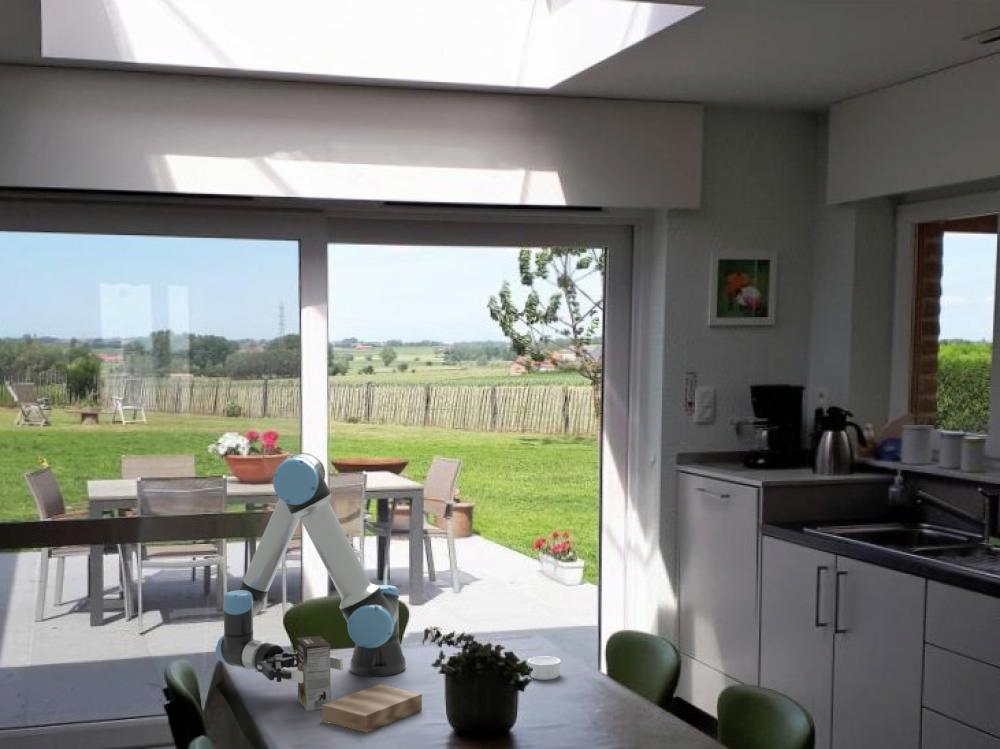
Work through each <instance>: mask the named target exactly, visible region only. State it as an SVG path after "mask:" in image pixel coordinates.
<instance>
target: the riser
mask: <svg viewBox="0 0 1000 749" xmlns="http://www.w3.org/2000/svg"><path fill="white" fill-rule="evenodd" d="M422 696H423V694H422V693H419V692H413V691H410V690H406V689H402V688H396V687H393V686H388V685H384V684H380V683H379V684H377V685H374V686H370V687H368V688H365V689H363V690H359V691H356V692H355V693H351V694H348V695H345V696H344V697H340V698H337V699H335V700H332V701H331V702H329V703H326V704H323V705H322V709H321V710H322V711H321V712H322V722H323V721H326V722H325V723H327V722H330V723H332V724H331V725H334V724H337V725H336V726H338V725H341V726H340V727H342V726H343V728H345V727H348V728H347V729H349V728H351V729H350V730H353V729H355V730H354V731H356V730H358V731H357V732H360V731H363V732H362V733H364V732H366V733H368V732H367V731H369V732H371V731H373V729H374V730H376V729H378V727H379V728H381V727H384V726H387V725H389V724H391V723H394V722H395V721H399V720H401V719H403V718H406V717H409V716H411V715H413V714H415V713H419V712H421V711H423V703H422V702H423V701H422V700H423V697H422ZM330 723H329V724H330ZM380 726H381V727H380ZM375 728H376V729H375ZM370 730H371V731H370Z"/></svg>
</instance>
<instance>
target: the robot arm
mask: <svg viewBox="0 0 1000 749" xmlns="http://www.w3.org/2000/svg"><path fill="white" fill-rule="evenodd" d="M325 479H326V469H325V467H324V464H323V463H322V461H321V460H320V459H319V458H318V456H316V455H314V454H312V453H309V452H299V453H295V454H294V455H292V456H290V457H289V458H286V459H285V460H283V461H281V463H280V464H279V465H278V466H277V468H276V469H275V472H274V475H273V479H272V485H273V489H274V492H275V494H276V496H277V497H278V501H277V503H276V505H275V507H274V509H273V512H272V513H271V516H270V519H269V520H268V523H267V526H266V528H265V529H264V532H263V533H262V537H261V539H260V541H259V544H258V546H257V548H256V550H255V552H254V555H253V557H252V559H251V561H250V564H249V566H248V568H247V570H246V573H245V575H244V577H243V579H242V582H241V584H240V587H239V588H238V589H235V590H231V591H227V592H226V593H225V594H224V596H223V603H222V608H223V635H222V636H221V637H219V639H218V641H217V644H216V646H215V655H216V658H217V659H218V660H219V661H220V662H222V663H225V664H227V665H229V666H234V667H238V668H244V669H246V670H251V671H254V672H255V673H260V674H261V673H262V675H263V676H265V677H266V679H268V680H269V681H275V678H276V682H277V683H281V682H282V680H285V681H286V680H287V681H289V682H294V683H297V684H298V683H303V671H299V670H298V669H294V668H298V662H297V649H294V650H293V652H290V651H284V648H282V647H281V645H278V644H275V643H270V642H268V641H262V640H257V639H254V618H255V617H256V615H258V613H260V611H262V610H263V608H264V605H265V601H266V600H265V599H266V598H267V596H268V592H269V590H270V588H271V585H272V584H273V581H274V580H275V577H276V574H277V572H278V570H279V568H280V565H281V564H282V561H283V559H284V557H285V554H286V552H287V550H288V548H289V546H290V543H291V541H292V538H293V536H294V534H295V532H296V529H297V527H298V525H299V523H300V521H301V523H302V525H303V527H304V529H305V531H306V533H307V535H308V537H309V538H310V541H311V543H312V544H313V547H314V548H315V550H316V552H317V554H318V555H319V558H320V560H321V562H322V564H323V565H324V567H325V570H326V571H327V573H328V575H329V577H330V579H331V581H332V583H333V585H334V587H335V588H336V591H337V592H338V595H339V596H340V599H341V601H340V605H339V606H338V607H339V610H340V612H341V613H342V615H343V618H344V619H345V621H346V623H347V625H346V627H347V632H348V635H349V637H350V639H351V640H352V641H353V642H354V644H355V646H354V649H353V653H352V658H351V659H350V668H349V669H350V672H351V673H353V674H355V675H358V676H362V675H363V677H385V675H387V676H391V674H393V675H396V673H397V674H399V672H400V673H402V672H403V671H405V670H404V669H407V668H406V665H407V664H406V662H407V660H406V658H405V656H404V654H403V649H402V647H401V643H400V637H399V636H400V635H399V634H400V632H399V629H400V627H399V626H400V625H399V624H400V622H399V621H400V620H399V619H400V618H399V598H400V595H399V590H398V587H397V586H395V585H391V584H389V585H388V584H374V583H372V582H371V581H370V578H369V577H368V575H367V573H366V571H365V569H364V568H363V565H362V563H361V561H360V559H359V557H358V555H357V554H356V552H355V549H354V547H353V546H352V544H351V542H350V540H349V538H348V536H347V534H346V532H345V530H344V528H343V526H342V525H341V523H340V521H339V518H338V517H337V514H336V513H335V511H334V509H333V507H332V505H331V503H330V501H331V497H332V492H331V491H330V488H329V487H328V485H327V482H326V480H325ZM295 661H296V663H295ZM330 669H335V670H338V671H342V670H343V669H344V660H343V658H341V657H336V656H332V655H330ZM401 671H402V672H401Z"/></svg>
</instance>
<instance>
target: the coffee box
mask: <svg viewBox="0 0 1000 749" xmlns="http://www.w3.org/2000/svg"><path fill="white" fill-rule="evenodd" d="M296 650H297V662H298V667H297V670H299V671H303V683H298V682H297V697H298V699H297V700H298V702H299V703H300V704H301V705H303V706H302V707H303V708H304V709H305V711H306V710H311V711H316V710H315V709H318V710H322V705H323V704H326V703H329V702H332V701H331V668H330V656H331V644H330V643H329V642H328V641H327V640H325V638H323V636H322V635H316V636H303V637H302V636H301V637H296Z"/></svg>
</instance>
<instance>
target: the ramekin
mask: <svg viewBox="0 0 1000 749" xmlns="http://www.w3.org/2000/svg"><path fill="white" fill-rule="evenodd" d="M561 661H562V660H561V659H560V658H558V657H555V656H546V655H542V656H541V655H540V656H539V655H538V656H532V657H530V658H528V659H527V664H528V667H529V666H530V667H532V668H533V673H532V675H531V677H530V678H532V679H534V680H539V681H540V680H541V681H545V680H546V681H548V680H555V679H557V678H558V677H559V676H560V669H561V668H560V666H561V663H562V662H561Z"/></svg>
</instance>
